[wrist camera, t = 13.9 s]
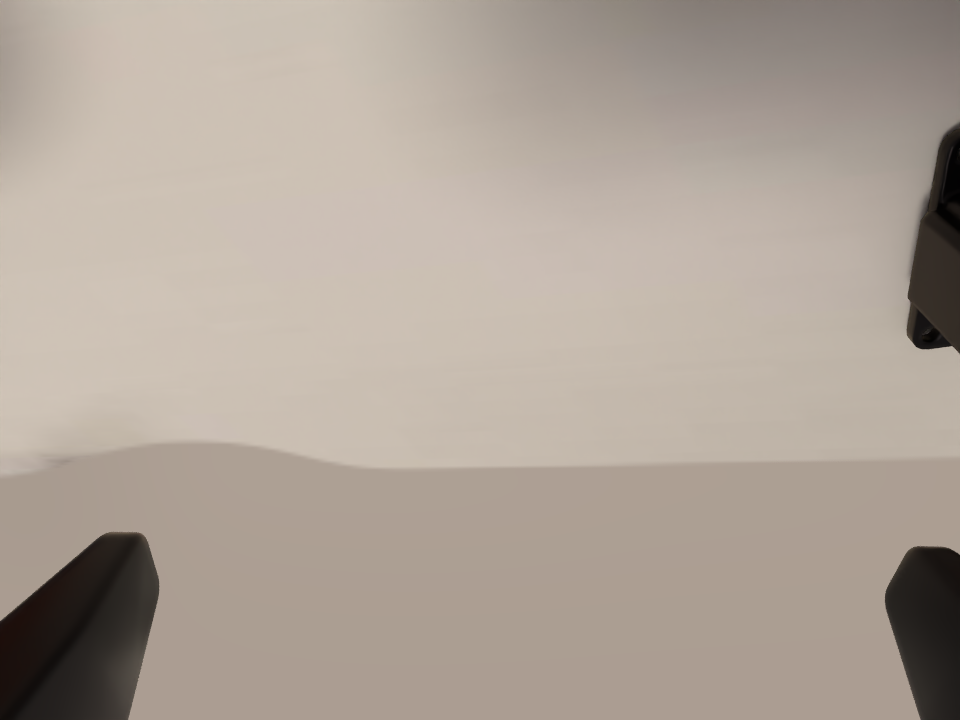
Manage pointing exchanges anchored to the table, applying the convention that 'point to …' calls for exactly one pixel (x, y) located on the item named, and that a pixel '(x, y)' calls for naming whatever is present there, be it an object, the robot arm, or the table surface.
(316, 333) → the table surface
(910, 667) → the robot arm
